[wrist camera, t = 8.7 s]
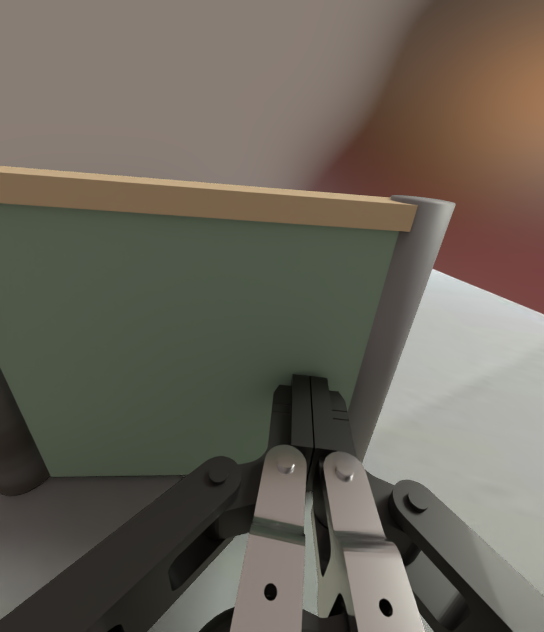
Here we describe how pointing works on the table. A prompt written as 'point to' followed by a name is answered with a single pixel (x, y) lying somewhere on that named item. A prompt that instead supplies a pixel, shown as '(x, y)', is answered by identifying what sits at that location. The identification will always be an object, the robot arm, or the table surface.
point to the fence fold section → (197, 311)
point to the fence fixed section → (17, 448)
